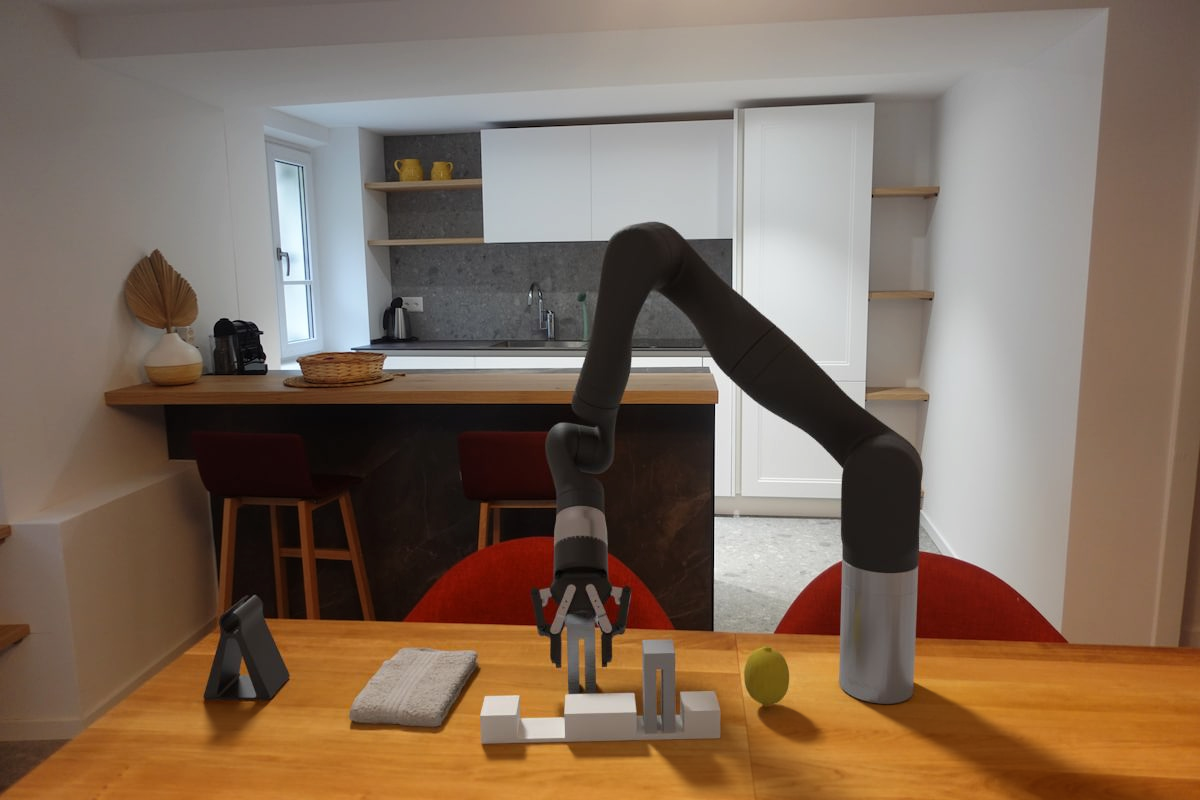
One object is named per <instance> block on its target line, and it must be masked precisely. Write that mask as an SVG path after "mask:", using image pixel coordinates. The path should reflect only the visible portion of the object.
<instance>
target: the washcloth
mask: <svg viewBox="0 0 1200 800" xmlns="http://www.w3.org/2000/svg"><path fill="white" fill-rule="evenodd" d="M478 657H479V654H478V652H477V651H476V650H472V649H471V650H470V649H468V650H466V649H465V650H464V649H463V650H439V649H435V648H428V647H403V648H401V649H399V650H398V651H397V652H396V654H394V655H393V656H392V657H391V658H390V659H389V660H388V659H387V660H384V661H383V662H382V664H381V667H380V668H379V669H378V670H377V672H376V673H375V674H374V675H373V676H372V677H371V678H370V679H369V681H368V682H367V684H366V685H365V686H364V688H363V689H361V691H360V692H359V693H358V694H357V696H356V697H355V698H354V700H353V702H352V706H351V707H350V709H349V715H348V717H349V720H350V721H352V722H354V723H359V724H361V723H362V724H374V725H375V724H376V725H377V724H378V723H379V724H392V725H401V726H403V727H404V726H408V727H409V726H412V727H415V726H417V727H423V728H424V727H427V728H435V727H440V726H441V725H442V722H443V721H444V720H445V718H446V717H448V714H449V711H450V709H451V707H452V706H453V704H455V702H456V701H457V698H458V697H459V695H460V693H461V691H462V690H463V689H462V688H463V687H464V686H465V685H466V682H467V681H468V679H470V677H471V675H472V674H473V672H474V671H475V669H476V668H477V667H478V664H479V662H478ZM464 684H465V685H464Z"/></svg>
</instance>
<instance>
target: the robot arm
mask: <svg viewBox="0 0 1200 800" xmlns="http://www.w3.org/2000/svg"><path fill="white" fill-rule="evenodd" d="M652 291H656V292H658V293H659V294H660V295H662V296H663V297H665V298H666V299H667V300H669V301H670V302H671V304H673V305H674V306H675V307H676V308H677V309H679V310H680V311H681V312H682V313H683V314H684V315H685V316H686V317H687V318H688V319H689V320H690V321H691V323H692V325H693V326H694V327H695V329H696V330H697V333H698V334H699V336H700V337H701V340H702V341H703V344H704V345H705V347H706V349H707V351H708V353H709V354H710V357H711V358H712V360H713V362H714V363H715V364H716V366H717V367H718V368H719V369H720V370H721V371H722V373H724V374H725V375H726V377H727V378H729V380H731V381H732V382H733V383H734V384H735V385H737V387H738V388H740V390H742V391H743V392H744V393H745V394H746V395H747V396H748V397H749V398H750V399H752V400H753V401H754V402H756V403H757V404H758V405H760V406H761V407H762V408H764V409H766V410H767V411H769V412H770V413H772V414H773V415H775V416H777V417H779V418H781V419H782V420H784V421H786V422H787V423H789V424H792V425H793V426H794V427H797V429H800V430H802V432H804V433H806V434H807V435H809V436H810V437H811V438H812V439H813V440H815V441H816V442H817V443H818V444H819V445H820V446H821V447H822V448H823V449H824V450H825V451H826V452H827V453H828V454H829V455H830V456H831V457H832V458H833V459H834V460H835V462H836V463H837V464H838V465H839V466H840V467H841V468H842V475H841V485H840V486H841V488H840V489H841V493H840V494H841V497H840V498H841V499H840V502H841V503H840V540H841V543H842V544H841V545H842V546H841V547H842V554H841V555H842V556H841V557H842V558H841V563H842V564H841V593H840V594H841V596H840V597H841V599H840V601H841V602H840V631H839V632H840V633H839V634H840V635H839V663H838V664H839V668H838V670H839V671H838V682H839V683H838V684H839V686H840V688H841V689H842V690H843V691H844V692H845V693H847V694H848V695H850V696H852V697H853V698H856V699H858V700H860V701H865V702H868V703H873V704H882V705H883V704H884V705H885V704H886V705H889V704H890V705H893V704H898V703H902V702H905V701H907V700H908V699H910V698H912V695H913V693H914V682H915V681H914V680H915V679H914V678H915V661H916V657H915V654H916V653H915V652H916V634H917V632H916V631H917V607H918V605H917V604H918V584H919V583H918V581H919V579H918V577H919V562H920V561H919V559H920V558H919V557H920V525H921V520H920V519H921V501H922V499H921V498H922V480H923V473H924V471H923V470H924V466H923V461H922V459H921V456H920V453H919V452H918V450H917V448H916V447H915V446H914V445H913V444H912V443H911V442H910V441H909V440H908V439H907V438H905V437H903V436H902V435H901V434H900V433H898V432H897V431H895V430H894V429H892V428H891V427H889V426H888V425H887V424H885V423H884V422H882V421H881V420H880V419H878V418H877V417H876V416H874V415H873V414H872V413H870V412H869V411H868V410H866V409H865V408H863V407H862V406H861V405H859V404H858V403H857V402H856V401H855V400H853V399H852V398H851V396H849V395H848V394H847V393H846V392H845V391H844V390H842V388H841V387H840V386H839V385H838V384H837V383H836V382H835V381H834V380H833V379H832V378H831V376H830V375H829V374H828V373H827V372H826V371H825V370H824V369H823V368H821V366H820V365H819V364H818V363H817V362H816V361H815V360H814V359H812V357H810V355H808V353H807V352H806V351H804V350H803V348H801V347H800V345H798V344H797V343H796V342H795V341H794V340H793V339H792V338H791V337H789V335H787V334H786V333H785V332H784V331H783V330H782V329H781V328H779V327H778V326H777V325H776V324H775V323H773V321H772V320H770V319H769V318H768V317H766V316H765V314H763V313H761V312H760V311H759V310H758V308H756V307H755V306H754V305H752V304H751V302H749V301H748V300H747V299H745V297H743V295H741V294H740V293H738V291H736V290H735V289H734V288H732V287H731V286H730V285H729V284H728V283H726V281H724V280H723V279H722V278H721V277H720V276H719V275H718V274H717V273H716V272H715V271H714V270H713V269H712V268H711V267H710V266H709V264H708V263H706V261H705V260H704V259H703V258H702V256H700V254H699V253H698V252H697V251H696V250H695V249H694V247H692V246H691V244H690V243H689V242H688V241H687V240H686V239H685V237H684V236H682V235H681V233H680V232H678V231H677V230H676V229H675V228H673V227H672V226H670V225H669V224H666V223H663V222H660V221H646V222H640V223H639V222H638V223H635V224H629V225H627V226H624V227H622V228H620V229H617V231H616V232H614V233H613V234H612V235H611V236H610V239H608V242H607V244H606V247H605V250H604V255H603V259H602V264H601V272H600V277H599V288H598V294H597V300H596V305H595V311H594V317H593V318H594V319H593V322H592V323H593V324H592V328H591V334H590V338H589V342H588V345H587V346H588V347H587V350H586V353H585V357H584V361H583V363H582V367H581V370H580V373H579V376H578V380H577V382H576V385H575V389H574V392H573V394H572V399H571V409H572V411H573V412H574V413H575V414H576V415H577V417H579V418H581V419H583V420H585V421H587V422H588V423H591V424H593V425H595V427H593V426H587V425H582V424H576V423H571V422H558V423H557V424H554V425H553V426H552V427H551V429H550V430H549V431H548V432H547V435H546V438H545V449H544V450H545V457H546V460H547V464H548V467H549V470H550V473H551V477H552V479H553V484H554V488H555V493H556V514H555V515H556V517H555V518H556V520H555V525H554V531H553V533H554V534H553V535H554V537H553V539H554V541H553V546H554V547H553V552H554V553H553V580H552V582H551V584H550V587H546V588H542V589H540V588H538V587H533V588H531V589H530V596H531V597H530V598H531V602H532V607H533V612H534V617H535V623H536V629H537V634H538V635H539V636H540V637H547V638H548V639H549V641H550V643H549V645H550V647H549V655H550V657H549V658H550V661H551V664H555V668H556V669H561V668H562V654H563V653H562V651H563V650H562V646H563V645H562V643H563V642H562V641H563V640H562V634H563V631H564V629H565V628H566V627H567V613H581V612H595V624H596V625H597V627H598V628H599V631H600V633H601V635H600V637H601V639H600V640H601V641H600V642H601V643H600V644H601V645H600V647H601V651H600V652H601V668H608V663H612V660H613V638H614V637H615V636H618V635H621V636H622V635H624V634H625V632H626V628H627V622H628V616H629V611H630V610H629V608H630V605H631V604H630V603H631V597H632V588H631V587H630V586H629V585H625V586H623V587H618V586H612V583H611V582H610V579H609V555H608V554H609V553H608V545H609V544H608V530H607V529H608V528H607V523H606V516H605V512H606V511H605V490H604V489H605V488H604V486H603V484H602V482H601V481H600V480H599V479H598V478H597V477H594V476H592V475H593V474H594V475H598V474H602V473H604V472H605V471H607V470H608V469H609V468H610V466H611V465H612V464H613V461H614V458H615V457H614V456H615V432H616V431H615V430H616V422H617V417H618V411H619V409H620V405H621V403H622V399H623V396H624V393H625V391H626V389H627V388H626V387H627V385H628V382H629V378H630V374H631V368H632V356H633V354H632V353H633V351H632V345H633V337H634V336H633V335H634V330H635V327H636V324H637V320H638V317H639V315H640V312H641V310H642V308H643V306H644V304H645V302H646V301H647V299H648V297H649V295H650V294H651V292H652ZM587 473H588V474H587ZM589 474H592V475H589ZM611 597H614V602H615V604H616V605H618V610H617V611H618V612H617V618H616V621H615V622H612V623H611V622H610V619H609V618H608V616H607V612H606V610H605V607H604V606H605V604H606V603H607V601H608V600H609V599H610V598H611ZM549 598H551V599H553V601H554V602H555V603H556V605H557V606H558V608H557V611H556V613H555V618H554V619H553V622H552V624H550V623H547V622H546V617H545V614H544V607H545V606H547V605H548V600H549Z"/></svg>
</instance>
